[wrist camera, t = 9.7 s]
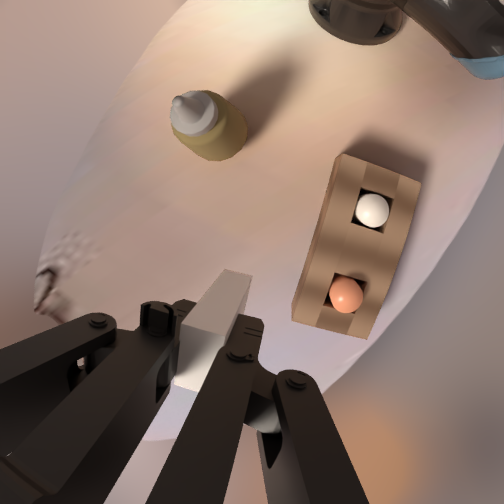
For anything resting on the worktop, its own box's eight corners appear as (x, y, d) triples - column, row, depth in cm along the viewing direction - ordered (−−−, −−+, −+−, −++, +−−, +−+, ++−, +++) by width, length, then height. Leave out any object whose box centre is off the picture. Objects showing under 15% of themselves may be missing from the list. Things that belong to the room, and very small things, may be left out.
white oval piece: (352, 189, 38) (363, 189, 32) (378, 198, 38) (392, 200, 32) (345, 217, 39) (354, 221, 33) (370, 225, 39) (383, 231, 33)
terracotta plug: (331, 266, 40) (338, 278, 34) (357, 273, 39) (367, 287, 34) (322, 292, 41) (327, 308, 35) (347, 299, 40) (356, 316, 35)
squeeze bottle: (219, 100, 38) (175, 48, 21) (263, 131, 39) (244, 89, 21) (185, 143, 40) (121, 117, 23) (227, 175, 40) (183, 165, 23)
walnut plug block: (335, 158, 38) (342, 153, 32) (404, 183, 37) (421, 183, 32) (291, 303, 43) (291, 320, 37) (358, 321, 42) (366, 339, 37)
